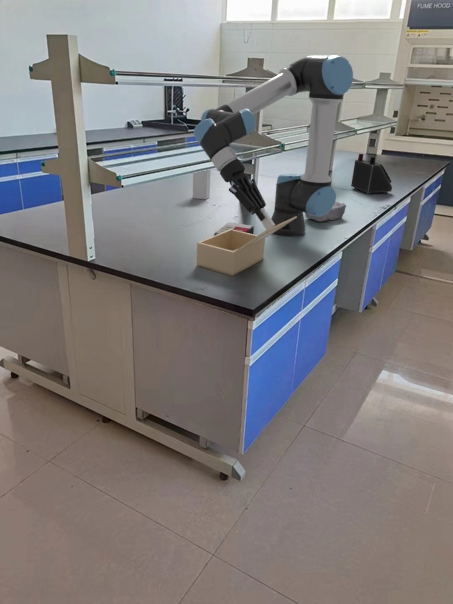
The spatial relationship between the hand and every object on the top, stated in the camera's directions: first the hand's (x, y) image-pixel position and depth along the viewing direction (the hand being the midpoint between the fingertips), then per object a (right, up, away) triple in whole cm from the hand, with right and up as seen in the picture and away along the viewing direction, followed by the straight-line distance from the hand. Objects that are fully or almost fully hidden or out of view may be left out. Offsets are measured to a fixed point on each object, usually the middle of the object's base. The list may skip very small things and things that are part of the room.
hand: (271, 227), depth 151 cm
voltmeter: (+69, +40, +129) cm, 152 cm away
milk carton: (-27, +30, +95) cm, 103 cm away
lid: (-1, -2, +2) cm, 3 cm away
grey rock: (+31, +15, +71) cm, 78 cm away
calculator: (-11, +2, +39) cm, 40 cm away
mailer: (-12, -10, +13) cm, 21 cm away
